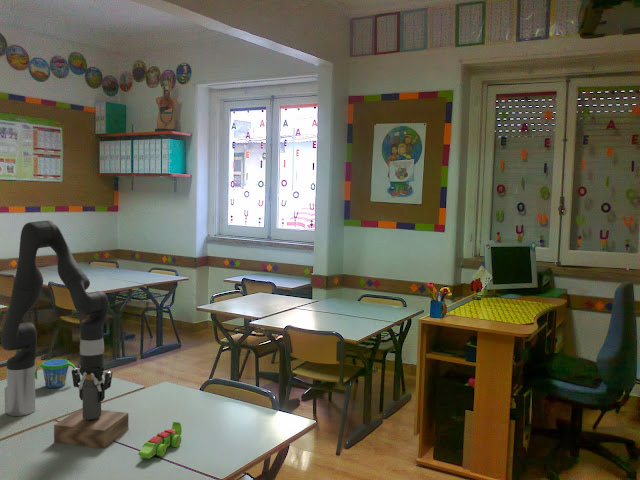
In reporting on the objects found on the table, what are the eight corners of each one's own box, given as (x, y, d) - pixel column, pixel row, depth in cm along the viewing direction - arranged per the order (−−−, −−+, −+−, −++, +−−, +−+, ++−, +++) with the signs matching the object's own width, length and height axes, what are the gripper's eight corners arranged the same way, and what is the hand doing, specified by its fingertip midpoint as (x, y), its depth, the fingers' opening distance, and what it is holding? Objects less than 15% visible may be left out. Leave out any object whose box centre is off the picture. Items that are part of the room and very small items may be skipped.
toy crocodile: (150, 465, 167) (150, 446, 167) (132, 460, 170) (132, 441, 169) (188, 440, 186) (189, 422, 185) (172, 436, 188) (172, 418, 188)
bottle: (94, 420, 182) (94, 376, 181) (78, 418, 183) (78, 374, 182) (104, 413, 188) (104, 371, 187) (89, 412, 189) (89, 369, 188)
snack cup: (78, 380, 240) (78, 358, 239) (72, 389, 230) (72, 365, 229) (39, 382, 237) (39, 359, 236) (31, 390, 227) (31, 366, 226)
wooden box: (54, 442, 180) (53, 424, 180) (81, 424, 195) (81, 408, 195) (104, 448, 177) (104, 430, 177) (128, 429, 192) (128, 412, 192)
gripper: (65, 352, 182) (65, 402, 183) (105, 356, 179) (105, 406, 180) (79, 346, 189) (79, 394, 190) (117, 350, 186) (117, 398, 188)
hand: (92, 400), depth 185 cm, fingers closed on bottle, 5 cm apart
